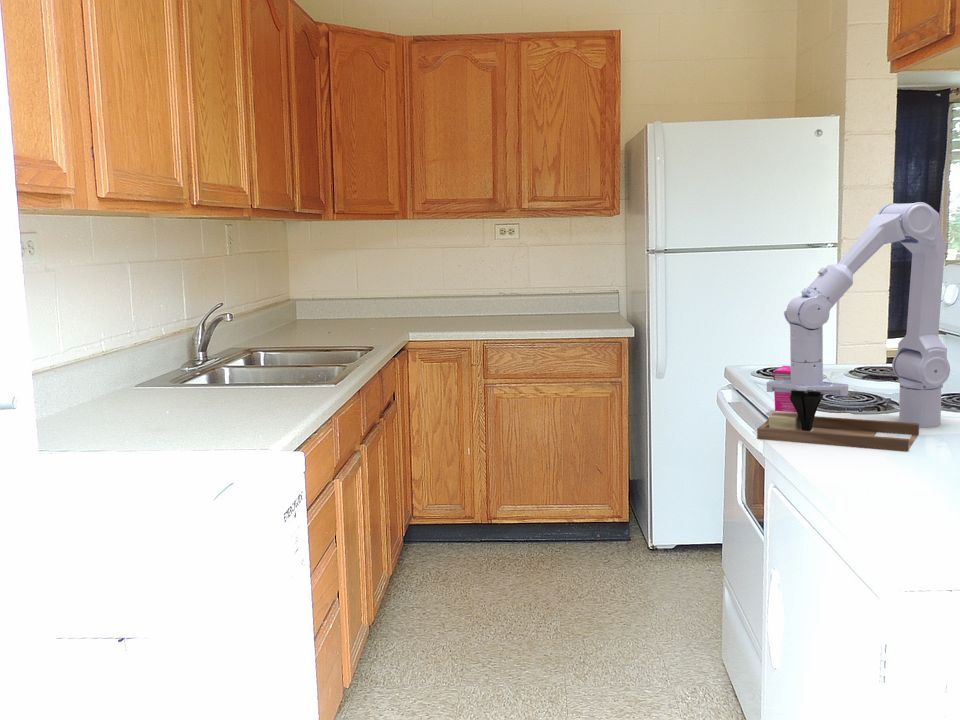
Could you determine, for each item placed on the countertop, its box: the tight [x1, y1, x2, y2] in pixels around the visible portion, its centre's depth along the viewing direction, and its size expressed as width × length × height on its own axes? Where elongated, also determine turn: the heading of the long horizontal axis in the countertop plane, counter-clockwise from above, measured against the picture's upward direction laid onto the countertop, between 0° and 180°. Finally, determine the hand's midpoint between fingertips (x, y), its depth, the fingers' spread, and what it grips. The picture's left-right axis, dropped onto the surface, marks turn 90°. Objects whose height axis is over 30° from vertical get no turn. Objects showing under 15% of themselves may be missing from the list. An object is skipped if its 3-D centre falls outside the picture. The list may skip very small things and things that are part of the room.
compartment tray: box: [756, 415, 920, 452], centre depth 167 cm, size 13×26×4 cm, turn 56°
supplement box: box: [773, 365, 796, 412], centre depth 185 cm, size 6×6×12 cm
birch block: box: [768, 410, 802, 431], centre depth 172 cm, size 5×5×4 cm
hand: (806, 430), depth 170 cm, fingers closed
